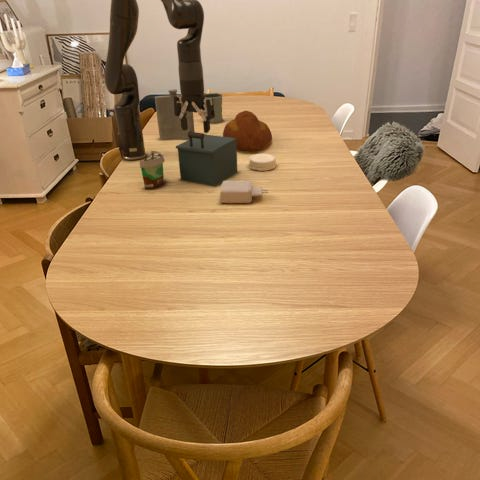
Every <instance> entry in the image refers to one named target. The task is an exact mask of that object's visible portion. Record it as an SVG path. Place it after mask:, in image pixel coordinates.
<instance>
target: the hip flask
mask: <svg viewBox="0 0 480 480" xmlns="http://www.w3.org/2000/svg"><path fill="white" fill-rule="evenodd" d="M178 95H180V96H181V97H182V94H181V93H179V94H178V89H174V88H173V89H168V95H156V96H154V102H155V103H154V104H155V112H156V120H157V127H158V135H159V140H160V141H168V140H169V141H170V140H172V141H173V140H189V137H188V132H196V131H195V120H194V112H188V114H187V116H186V118H187V124H188V129H187V130H185V131H184V130H183V129H182V127H181V119H180V118H179V117H178V116H175V113H174V97H175V96H178ZM183 106H184V104H183V103H181V109H182V108H183Z"/></svg>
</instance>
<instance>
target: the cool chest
mask: <svg viewBox="0 0 480 480" xmlns="http://www.w3.org/2000/svg"><path fill="white" fill-rule="evenodd" d="M177 157H178V165H179V176H180V180H181V181H183V182H184V181H185V182H189V183H196V184H201V185H206V186H212V187H217V186H219V185H220V184H222V183H223V181H227V180H229V178H231V177H232V176H234V175H236V174H237V173H238V148H237V145H236V141H235V142H233V143H231V144H229V145H227V146H226V147H224V148H222V149H220V150H218V151H216V152H214V153H213V154H209V153H203V152H196V151H189V150H183V149H177Z"/></svg>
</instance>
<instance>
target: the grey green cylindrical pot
mask: <svg viewBox="0 0 480 480" xmlns="http://www.w3.org/2000/svg"><path fill="white" fill-rule="evenodd" d="M204 98H205V99H210V98H213V103H214V112H215V118H213V119H210V124H219V123H222V122H223V94H222V93H219V92H210V93H209V92H208V93H204ZM204 106H205V104H204ZM205 108H206V109H207V106H205Z"/></svg>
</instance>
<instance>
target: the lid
mask: <svg viewBox="0 0 480 480" xmlns="http://www.w3.org/2000/svg"><path fill="white" fill-rule="evenodd" d="M188 137H189V139H187V140H185V141H184V142H182V143H179V144H177V145H175V149H176V150H178V149H183V150H189V151H196V152H203V153H209V154H213V153H214V152H216V151H218V150H220V149H222V148H224V147H226V146H227V145H229V144H231V143H233V142H235V141H236V138H230V137H223V135H214V134H208V133H204V132H196V131H195V132H188Z"/></svg>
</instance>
